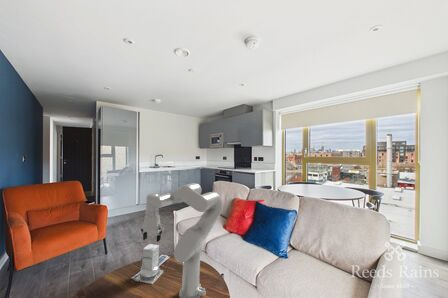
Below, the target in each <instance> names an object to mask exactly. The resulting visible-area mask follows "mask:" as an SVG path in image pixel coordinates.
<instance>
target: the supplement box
mask: <svg viewBox="0 0 448 298" xmlns="http://www.w3.org/2000/svg"><path fill="white" fill-rule="evenodd" d="M159 256H160V245H159V244H152V243H149V244H147V245H145V247H143V248H142V260H141V261H142V263H141V266H142V269H146V270H151V271H152V270H153V269H154V268H155V267H156V266H157V265H158V263H159V258H160V257H159Z"/></svg>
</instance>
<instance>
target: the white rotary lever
mask: <svg viewBox="0 0 448 298" xmlns="http://www.w3.org/2000/svg"><path fill="white" fill-rule="evenodd" d="M162 274H164V270H163V269H160V263H159V262H158V265H157V266H156V267H155V268H154V269H153V270H152V271H151V270H146V269H142V265H141V266H140V273H139V275H138V276H137V277H136V278H135V281H136V282H139V281H140V283H145V284H149V285H153V284H154V283H155V282H156V281H157V280H158V279H159V277H160V276H161V275H162Z"/></svg>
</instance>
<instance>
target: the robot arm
mask: <svg viewBox="0 0 448 298" xmlns="http://www.w3.org/2000/svg"><path fill="white" fill-rule="evenodd" d="M202 190H203V189H202V187H201V184H199V183H197V182H193V183H188V184H184V185H181V186H180V187H177V188H175V189H174V190H173V191H171V192H167V193H163V194H160V195H159V194H158V193H149V194H147V196H146V208H145V211H144V213H145V215H144V219H143V223H142V224H141V225H139V228H140V231H141V233H142V234H143V235H142V239H143V241H145V240H147V239H148V233H152V234H155V233H156V234H157V235H156V242H157V243H158V242H160V241H161V238H162V235H163V232H164V231H165V229H166V228H165V227H164V226H162V225H161V217H160V214H159V213H160V212H159V210H160V209H161V208H163V207H167V206H170V205H172V204H176V203H183V202H184V204H187V205H188V206H189V207H191V208H192V209H193V210H195V211H197V212H200V213H202V214H201V216H200V217H199V220H198V221H197V222H196V223H195V224H194V225H192V226H190V227H189V228H187V229H186V230H185V231H184V232H183V233H182V235H181V237H180V238H179V240H178V242H176V245H175V247H174V248H173V249H174V251H173V256H174V259H175V261H177V262H178V263H182V278H181V279H182V283H181V288H180V289H179V293H178V297H179V298H201V296H206V293H207V291H206V288H205V287H202V283H200V270H201V269H200V267H201V256H202V255H201V254H202V250H203V242H204V241H205V240H206V239H207V238H208V236H209V235H210V232H211V230H212V229H213V228H214V226H215V224H216V223H217V221H218V220H219V218H220V216H221V214H222V211H223V200H222V198H221V195H220V194H219V193H217V192H216V191H215V192H214V191H210V192H205V193H203V194H202ZM159 208H160V209H159Z"/></svg>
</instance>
